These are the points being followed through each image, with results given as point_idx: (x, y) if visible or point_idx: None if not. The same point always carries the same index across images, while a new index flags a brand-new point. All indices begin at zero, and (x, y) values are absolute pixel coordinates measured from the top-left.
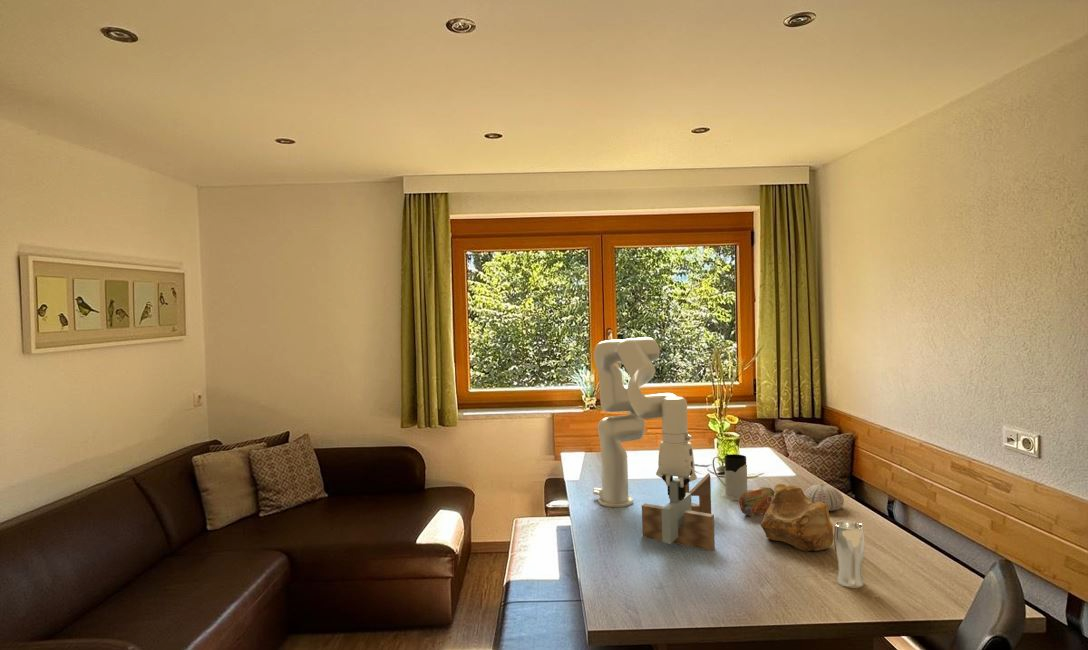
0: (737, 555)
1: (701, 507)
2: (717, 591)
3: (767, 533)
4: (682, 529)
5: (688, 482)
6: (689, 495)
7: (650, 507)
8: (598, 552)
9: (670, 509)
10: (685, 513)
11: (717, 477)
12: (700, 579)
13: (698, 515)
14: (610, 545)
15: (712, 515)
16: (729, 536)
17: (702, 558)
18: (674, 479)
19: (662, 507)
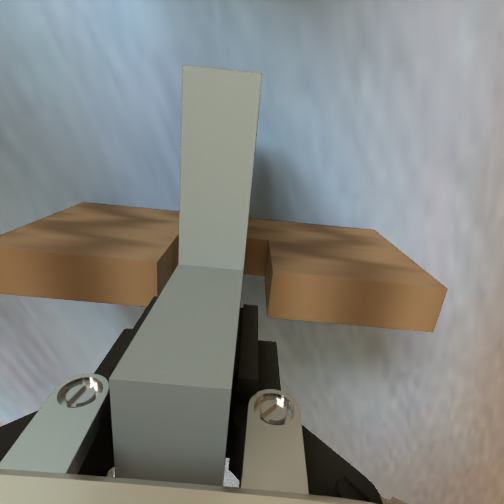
0: (459, 266)
1: None
2: (406, 484)
3: None
4: (255, 273)
5: (334, 465)
6: (256, 125)
7: (47, 296)
8: (31, 398)
9: (224, 469)
10: (275, 314)
11: None
12: (358, 448)
13: (355, 322)
14: (28, 340)
15: (439, 310)
16: (428, 68)
17: (344, 330)
18: (119, 428)
19: (115, 280)
